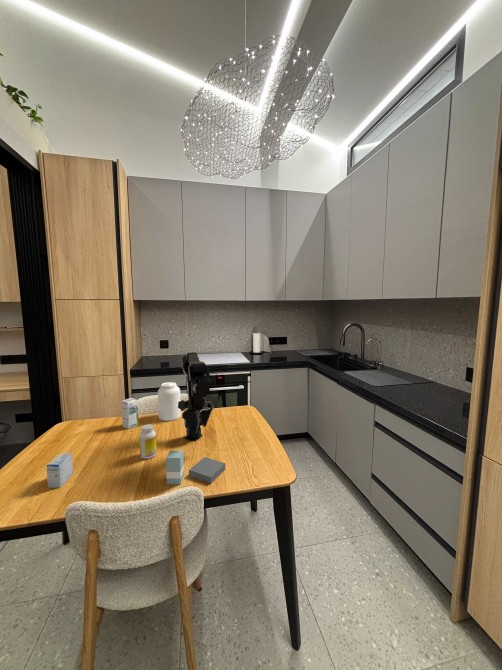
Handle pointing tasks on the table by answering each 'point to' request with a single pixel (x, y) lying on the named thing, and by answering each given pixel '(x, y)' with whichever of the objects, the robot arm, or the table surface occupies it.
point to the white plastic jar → (168, 401)
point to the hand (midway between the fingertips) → (199, 430)
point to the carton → (175, 467)
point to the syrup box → (129, 413)
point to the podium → (207, 470)
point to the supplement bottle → (147, 442)
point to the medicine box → (59, 470)
